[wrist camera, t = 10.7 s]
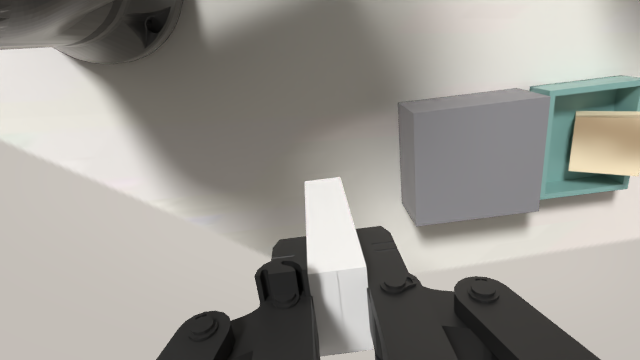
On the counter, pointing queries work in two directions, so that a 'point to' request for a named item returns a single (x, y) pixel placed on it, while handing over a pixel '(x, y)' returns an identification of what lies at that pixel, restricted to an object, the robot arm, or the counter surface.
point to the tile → (606, 142)
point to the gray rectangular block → (472, 155)
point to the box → (563, 107)
